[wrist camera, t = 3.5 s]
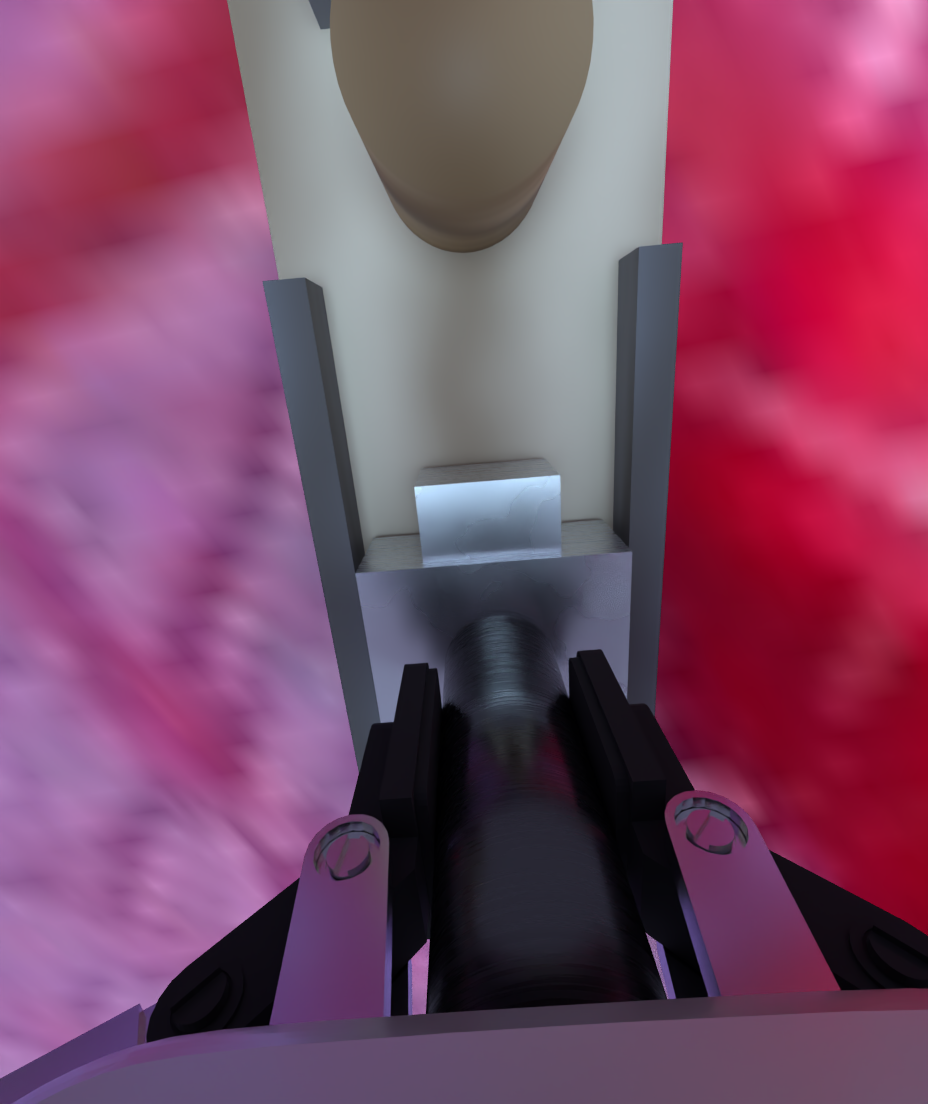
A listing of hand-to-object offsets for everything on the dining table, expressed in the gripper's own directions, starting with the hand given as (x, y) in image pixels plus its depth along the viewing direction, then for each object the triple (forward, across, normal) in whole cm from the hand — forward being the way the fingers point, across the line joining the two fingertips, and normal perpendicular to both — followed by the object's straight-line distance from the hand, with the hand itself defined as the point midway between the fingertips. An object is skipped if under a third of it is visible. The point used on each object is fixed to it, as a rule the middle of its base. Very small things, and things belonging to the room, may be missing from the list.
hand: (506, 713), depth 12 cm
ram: (+5, 0, -1) cm, 5 cm away
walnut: (+5, 0, -12) cm, 13 cm away
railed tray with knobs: (+7, 0, -5) cm, 9 cm away
